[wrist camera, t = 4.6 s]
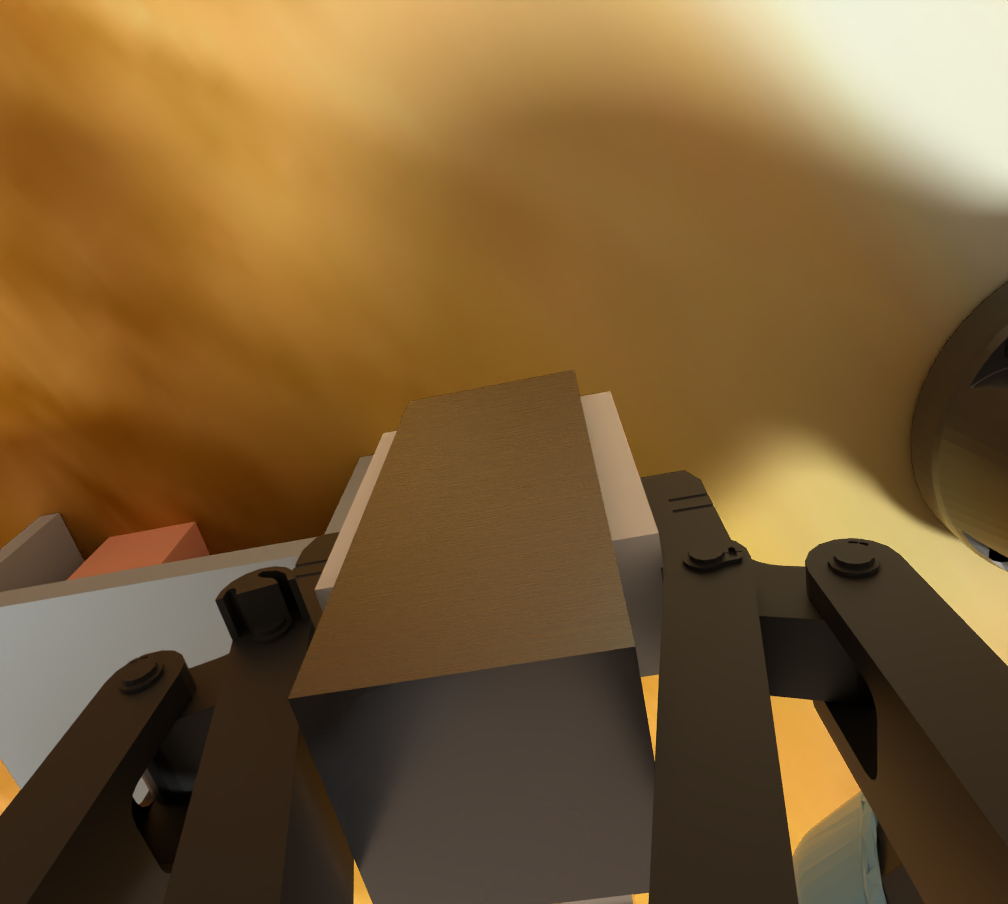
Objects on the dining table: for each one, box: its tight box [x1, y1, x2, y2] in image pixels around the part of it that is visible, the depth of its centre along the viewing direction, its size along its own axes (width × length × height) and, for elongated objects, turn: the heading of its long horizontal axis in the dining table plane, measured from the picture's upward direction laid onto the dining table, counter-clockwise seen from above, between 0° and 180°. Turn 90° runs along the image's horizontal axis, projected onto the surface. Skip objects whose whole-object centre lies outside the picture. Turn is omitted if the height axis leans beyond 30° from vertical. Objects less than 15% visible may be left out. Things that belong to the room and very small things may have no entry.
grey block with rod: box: [288, 370, 655, 904], centre depth 16 cm, size 8×17×10 cm, turn 12°
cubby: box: [0, 455, 374, 804], centre depth 33 cm, size 17×11×8 cm, turn 102°
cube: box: [67, 521, 210, 580], centre depth 34 cm, size 4×4×4 cm
